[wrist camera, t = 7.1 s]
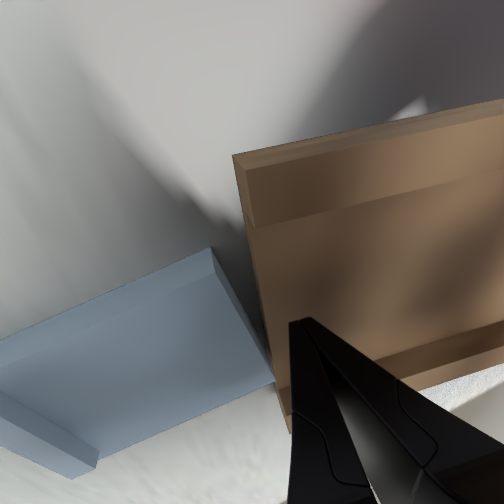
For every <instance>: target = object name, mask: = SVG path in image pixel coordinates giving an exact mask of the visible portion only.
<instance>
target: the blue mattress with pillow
mask: <svg viewBox="0 0 504 504" xmlns="http://www.w3.org/2000/svg"><path fill="white" fill-rule="evenodd" d="M275 381H276V379H275V376H274V373H273V370H272V367H271V364H270V361H269V358H268V355H267V352H266V349H265V348H264V346H263V344H262V342H261V340H260V338H259V336H258V335H257V333H256V331H255V329H254V327H253V325H252V323H251V322H250V320H249V318H248V316H247V314H246V312H245V310H244V309H243V307H242V305H241V303H240V301H239V299H238V297H237V296H236V294H235V292H234V290H233V288H232V286H231V284H230V283H229V281H228V279H227V277H226V275H225V273H224V272H223V270H222V268H221V266H220V264H219V262H218V260H217V259H216V257H215V255H214V253H213V251H212V249H211V247H209V248H206V249H204V250H202V251H200V252H197V253H195V254H193V255H191V256H188V257H186V258H184V259H182V260H179V261H177V262H175V263H173V264H170V265H168V266H166V267H164V268H161V269H159V270H157V271H155V272H152V273H150V274H148V275H146V276H143V277H141V278H139V279H137V280H134V281H132V282H130V283H128V284H125V285H123V286H121V287H119V288H116V289H114V290H112V291H110V292H107V293H105V294H103V295H101V296H98V297H96V298H94V299H92V300H89V301H87V302H85V303H83V304H80V305H78V306H76V307H74V308H71V309H69V310H67V311H65V312H62V313H60V314H58V315H56V316H53V317H51V318H49V319H47V320H44V321H42V322H40V323H38V324H35V325H33V326H31V327H29V328H26V329H24V330H22V331H20V332H18V333H15V334H13V335H11V336H9V337H6V338H4V339H2V340H0V446H2V447H4V448H6V449H8V450H10V451H12V452H15V453H17V454H19V455H21V456H23V457H25V458H27V459H29V460H31V461H33V462H35V463H38V464H40V465H42V466H44V467H46V468H48V469H50V470H52V471H54V472H56V473H59V474H61V475H63V476H65V477H67V478H69V479H74V478H76V477H78V476H80V475H83V474H85V473H87V472H89V471H92V470H94V469H96V464H97V460H100V459H102V458H104V457H106V456H109V455H111V454H113V453H115V452H118V451H120V450H122V449H124V448H127V447H129V446H131V445H133V444H136V443H138V442H140V441H142V440H145V439H147V438H149V437H151V436H154V435H156V434H158V433H160V432H163V431H165V430H167V429H169V428H172V427H174V426H176V425H178V424H181V423H183V422H185V421H187V420H190V419H192V418H194V417H196V416H198V415H201V414H203V413H205V412H207V411H210V410H212V409H214V408H216V407H219V406H221V405H223V404H225V403H228V402H230V401H232V400H234V399H237V398H239V397H241V396H243V395H246V394H248V393H250V392H252V391H255V390H257V389H259V388H261V387H264V386H266V385H268V384H270V383H273V382H275Z"/></svg>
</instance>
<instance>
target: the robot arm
mask: <svg viewBox="0 0 504 504" xmlns="http://www.w3.org/2000/svg"><path fill="white" fill-rule="evenodd" d="M288 334H289V362H290V390H291V421H292V446H291V463H290V474H289V485H288V496H287V504H378V503H377V501H376V499H375V497H374V494H373V492H372V489H371V488H370V484H369V481H370V483H371V485H372V487H373V489H374V491H375V493H376V495H377V497H378V499H379V501H380V502H381V504H504V444H502V443H500V442H499V441H497V440H495V439H494V438H492V437H490V436H488V435H487V434H485V433H483V432H482V431H480V430H478V429H477V428H475V427H473V426H471V425H470V424H468V423H467V422H465V421H463V420H462V419H460V418H458V417H457V416H455V415H453V414H451V413H450V412H448V411H446V410H445V409H443V408H442V407H440V406H438V405H437V404H435V403H434V402H432V401H430V400H429V399H427V398H426V397H424V396H423V395H421V394H420V393H418V392H417V391H415V390H414V389H412V388H411V387H409V386H408V385H407V384H405V383H404V382H402V381H401V380H400V379H396V377H395V376H394V375H392V374H391V373H390V372H388V371H387V370H385V369H384V368H383V367H381V366H380V365H378V364H377V363H375V362H374V361H373V360H371V359H370V358H368V357H367V356H366V355H364V354H363V353H361V352H360V351H359V350H357V349H356V348H354V347H353V346H352V345H350V344H349V343H347V342H346V341H345V340H343V339H342V338H340V337H339V336H337V335H336V334H335V333H333V332H332V331H330V330H329V329H328V328H326V327H325V326H323V325H322V324H321V323H319V322H318V321H316V320H315V319H314V318H312V317H305V318H302V319H300V321H299V320H294V321H291V322H289V323H288ZM367 477H368V479H369V481H368V479H367Z"/></svg>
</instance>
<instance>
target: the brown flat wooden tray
mask: <svg viewBox="0 0 504 504" xmlns="http://www.w3.org/2000/svg"><path fill="white" fill-rule="evenodd" d="M232 158H233V164H234V169H235V174H236V180H237V185H238V190H239V196H240V201H241V206H242V212H243V217H244V222H245V228H246V233H247V238H248V244H249V249H250V254H251V260H252V265H253V270H254V276H255V281H256V287H257V292H258V297H259V303H260V308H261V313H262V319H263V324H264V329H265V335H266V340H267V345H268V351H269V356H270V361H271V367H272V370H273V373H274V376H275V379H276V381H275V382H274V383H275V388H276V393H277V397H278V400H279V403H280V406H281V409H282V412H283V415H284V419H285V422H286V425H287V428H288V431H289V434H291V433H292V421H291V390H290V362H289V334H288V323H289V322H291V321H294V320H299V321H300V319H302V318H305V317H312V318H314V319H315V320H316V321H318V322H319V323H321V324H322V325H323V326H325V327H326V328H328V329H329V330H330V331H332V332H333V333H335V334H336V335H337V336H339V337H340V338H342V339H343V340H345V341H346V342H347V343H349V344H350V345H352V346H353V347H354V348H356V349H357V350H359V351H360V352H361V353H363V354H364V355H366V356H367V357H368V358H370V359H371V360H373V361H374V362H375V363H377V364H378V365H380V366H381V367H383V368H384V369H385V370H387V371H388V372H390V373H391V374H392V375H394V376H395V377H396V379H400V380H401V381H402V382H404V383H405V384H407V385H408V386H409V387H411V388H412V389H414V390H415V391H420V390H423V389H426V388H429V387H432V386H435V385H438V384H441V383H444V382H447V381H450V380H453V379H456V378H459V377H462V376H465V375H469V374H472V373H475V372H478V371H481V370H484V369H487V368H490V367H493V366H496V365H499V364H502V363H504V98H502V99H497V100H492V101H487V102H482V103H478V104H473V105H469V106H463V107H459V108H454V109H449V110H444V111H439V112H435V113H430V114H425V115H420V116H416V117H411V118H406V119H401V120H396V121H392V122H387V123H382V124H378V125H373V126H368V127H363V128H359V129H353V130H349V131H345V132H339V133H334V134H330V135H325V136H320V137H315V138H310V139H306V140H301V141H296V142H291V143H287V144H282V145H277V146H272V147H267V148H263V149H258V150H253V151H249V152H244V153H239V154H234V155H232Z"/></svg>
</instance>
